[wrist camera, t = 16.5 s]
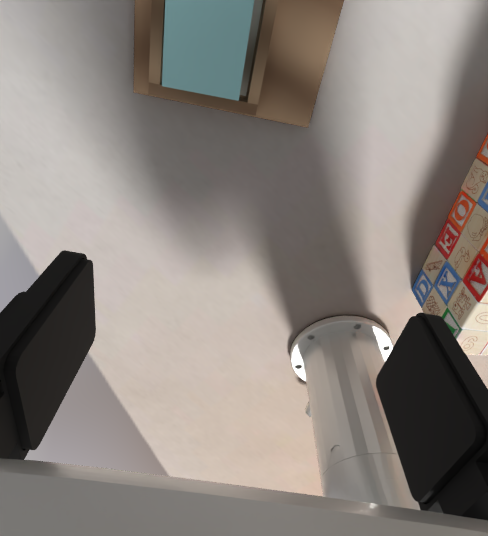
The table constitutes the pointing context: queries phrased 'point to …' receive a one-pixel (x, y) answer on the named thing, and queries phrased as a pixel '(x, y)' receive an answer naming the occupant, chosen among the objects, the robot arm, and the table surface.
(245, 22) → the teal nearly cubic block
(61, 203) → the table surface
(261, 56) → the chassis
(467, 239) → the stack of blocks
